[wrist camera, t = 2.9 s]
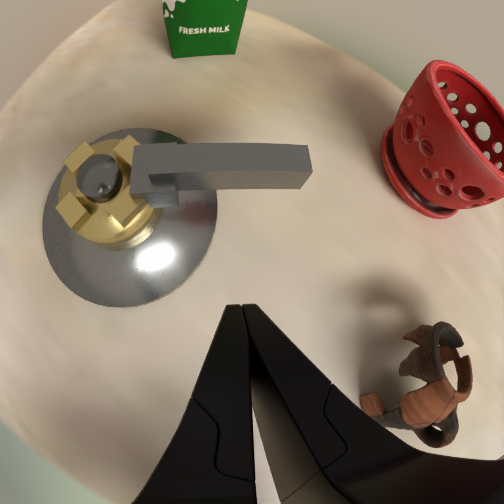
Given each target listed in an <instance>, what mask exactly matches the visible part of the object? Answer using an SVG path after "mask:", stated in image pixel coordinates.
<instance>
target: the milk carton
mask: <svg viewBox="0 0 504 504" xmlns="http://www.w3.org/2000/svg"><path fill="white" fill-rule="evenodd" d="M247 2H248V0H162V6H163V15H164V21H165V26H166V30H167V34H168V38H169V42H170V47H171V51H172V55H173V59H174V58H183V57H193V56H206V55H225V54H235V52H236V47H237V43H238V39H239V35H240V31H241V27H242V23H243V19H244V15H245V11H246V7H247Z"/></svg>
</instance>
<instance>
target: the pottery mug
mask: <svg viewBox="0 0 504 504" xmlns="http://www.w3.org/2000/svg"><path fill="white" fill-rule="evenodd" d="M403 339H404V340H410V341H412V342H414V343H416V344H418V345H419V347H417V348H415V349H414V350H413V351H411V353H410V354H409V355H408V357H407V358H406V359H405V360H403V361H402V362H401V364H400V369H399V375H400V376H408V375H411V376H413V377H416V378H419V379H422V380H423V381H425V382H427V384H426V385H425V386H423V387H422V388H420V389H417V390H415V391H411V392H408V393H406V394H405V396H403V397H402V398H401V400H400V407H397V408H395V409H393V410H391V411H386V410H385V409H384V407H383V405H382V403H381V400H380V398H379V395H378V393H377V392H374V393H370V394H369V395H364V396H361V397H360V402H361V406H362V408H363V411H364V412H365V413H366V414H367V415H369V416H370V417H371V418H372V419H374V420H375V421H376V422H378V423H379V424H380V425H382V426H383V427H390V428H397V429H406V430H412V431H414V432H415V434H416V435H417V436H418V438H419V439H420V440H421V441H422V442H423V443H425V444H426V445H428V446H430V447H433V448H440V447H444V446H446V445H449V444H450V443H451V442H452V441H453V440H454V439H455V436H456V434H457V432H458V428H459V424H458V418H457V413H456V410H457V404H458V403H459V402H463V401H465V400H466V399H467V398H468V397H469V395H470V393H471V389H472V381H473V375H472V367H471V361H470V358H469V355H466V356H463V357H461V358H460V356H459V353H458V351H457V349H456V348H458V347H462V346H463V345H464V343H463V341H462V338H461V336H460V335H459V333H458V332H457V331H456V329H455V328H454V327H453V326H452V325H450V324H449V323H445V322H442V321H441V322H438V323H436V324H435V325H434V326H430V325H421V326H420V327H418V328H417V329H415V330H413V331H411V332H409V333H407V334H405V335H404V336H403ZM452 360H454V364H455V367H456V371H457V375H458V383H457V391H456V390H454V388H453V387H452V385H451V384H450V382H449V381H448V379H447V377H446V376H445V372H444V369H443V366H442V365H444V364H446V363H447V362H448V361H452ZM432 425H433V426H437V427H439V428H440V429H441V430H442V431H440V430H437V429H435V428H434V427H433V426H432Z"/></svg>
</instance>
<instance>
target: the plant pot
mask: <svg viewBox="0 0 504 504" xmlns="http://www.w3.org/2000/svg"><path fill="white" fill-rule="evenodd" d="M440 82H445V85H444V86H443V87H441V88H439V86H438V83H440ZM450 93H455V94H456V95H457V99H456V100H454V101H450V100H448V99H447V95H448V94H450ZM467 104H473V105H474V106H475V107H476V112H475V113H470V112H468V111H467V109H466V105H467ZM451 108H456V109H457V110H458V114H453V113H452V112H451ZM462 120H466V121H467V122H468V124H469V126H468V128H464V127H463V126H462V125H461V121H462ZM479 122H485V123H487V124H488V126H489V127H490V133H491V135H490V137H489V139H488V140H486V141H483V140H481V139H479V137H478V136H477V134H476V125H477V124H478V123H479ZM497 142H500V143H501V144H502V151H501V152H500V153H496V152H495V150H494V146H495V144H496V143H497ZM485 151H487V152H489V153H490V159H489V160H488V159H487V158H486V157H485V156H484V154H483V153H484V152H485ZM381 154H382V160H383V164H384V168H385V171H386V173H387V175H388V178H389V180H390V182H391V183H392V185H393V187H394V188H395V189H396V191H397V192H398V194H399V195H400V196H401V197H402V198H403V199H404V201H405V202H407V203H408V204H409V205H410V206H411V207H412V208H413V209H415V210H416V211H418V212H419V213H421V214H423V215H425V216H428V217H431V218H435V219H444V218H448V217H451V216H453V215H454V214H455V213H456V212H457V211H458V210H459V209H469V208H475V207H480V206H483V205H487V204H489V203H492V202H494V201H497V200H499V199H501V198H503V197H504V110H503V108H502V107H501V106H500V104H499V103H498V102H497V100H496V99H495V98H494V97H493V96H492V95H491V93H490V92H489V91H488V90H487V89H486V88H485V87H484V86H483V85H482V84H481V83H480V82H479V81H477V80H476V79H475V78H474V77H473V76H471V75H470V74H469V73H467V72H466V71H464V70H463V69H461V68H460V67H458V66H456V65H454V64H452V63H449V62H446V61H443V60H434V61H431V62H430V63H428V65H427V66H426V67H425V68H424V69H423V71H422V72H421V73H420V75H419V76H418V77H417V78H416V80H415V81H414V83H413V85H412V87H411V88H410V89H409V91H408V92H407V94H406V95H405V97H404V99H403V101H402V103H401V105H400V108H399V110H398V113H397V116H396V120H395V123H393V124H392V125H390V126H389V127H388V128H387V130H386V131H385V133H384V135H383V138H382V143H381ZM499 162H502V167H501V168H500V169H497V164H498V163H499Z"/></svg>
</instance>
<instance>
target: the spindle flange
mask: <svg viewBox="0 0 504 504" xmlns="http://www.w3.org/2000/svg"><path fill="white" fill-rule="evenodd" d="M128 135H130V136H131V137H133V138H134V139H135V140H136V141H137V142H138V143H140V144H141V145H144V144H156V143H171V142H177V144H187V143H186V142H184V141H183V140H181V139H180V138H178V137H176V136H174V135H172V134H169V133H166V132H163V131H159V130H154V129H144V128H136V129H126V130H121V131H117V132H113V133H110V134H108V135H105V136H103V137H100V138H98V139H97V140H95V141H93V142H91V143H90V144H88V145H89V146H92V145H94V144H96V143H98V142H101V141H104V140H109V139H125V138H126V137H127V136H128ZM67 168H68V167H67V166H66V165H65V166H64V168H63V169H62V170H61V172H60V173H59V175H58V176H57V178H56V180H55V181H54V183H53V185H52V188H51V190H50V192H49V195H48V198H47V201H46V204H45V209H44V215H43V240H44V246H45V250H46V253H47V257H48V260H49V262H50V264H51V266H52V268H53V270H54V271H55V273H56V274H57V276H58V277H59V279H60V280H61V281H62V282H63V283H64V284H65V285H66V286H67V287H68V288H69V289H70V290H71V291H73V292H74V293H75V294H77V295H78V296H80V297H82V298H83V299H85V300H88V301H90V302H93V303H95V304H99V305H103V306H108V307H123V308H125V307H136V306H140V305H145V304H148V303H151V302H154V301H156V300H159V299H161V298H163V297H164V296H166V295H168V294H170V293H172V292H173V291H174V290H176V289H177V288H178V287H180V286H181V285H182V284H183V283H184V282H185V281H186V280H187V279H188V278H189V277H190V276H191V275H192V274H193V273H194V272H195V270H196V269H197V268H198V267H199V265H200V263H201V262H202V260H203V259H204V257H205V255H206V253H207V251H208V249H209V247H210V244H211V242H212V238H213V235H214V232H215V226H216V220H217V194H216V190H191V191H179V207H163V212H162V216H161V219H160V221H159V223H158V225H157V227H156V228H155V230H154V231H153V232H152V233H151V235H150V236H149V237H148V238H146V239H145V240H144V241H143V242H141V243H140V244H138V245H136V246H135V247H132V248H130V249H126V250H122V251H109V250H105V249H102V248H99V247H97V246H96V245H94V244H93V243H91V242H90V241H88V240H87V239H85V238H84V237H82V236H81V235H79V234H78V233H76V232H75V231H74V230H72V229H71V228H70V227H69V226H68V225H67V224H66V222H65V221H64V219H63V217H62V216H61V214H60V213H59V212H58V211H57V209H56V208H55V207H56V206H57V205H58V204H59V202H58V195H59V188H60V184H61V181H62V178H63V176H64V174H65V172H66V170H67ZM122 182H123V175H122V172H121V170H120V168H119V166H118V164H117V162H116V161H115V159H114V158H113V157H112V156H110V155H107V154H97V155H94V156H92V157H90V158H89V159H87V160H86V161H85V162H84V163H83V164H82V165H81V167H80V168H79V170H78V173H77V177H76V183H77V187H78V189H79V190H80V191H81V192H82V194H83V195H84V196H85V197H86V198H87V199H88V200H90V201H91V202H94V203H103V202H106V201H109V200H110V199H112V198H113V197H114V196H115V195H116V194H117V193H118V192H119V190H120V188H121V186H122Z"/></svg>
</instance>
